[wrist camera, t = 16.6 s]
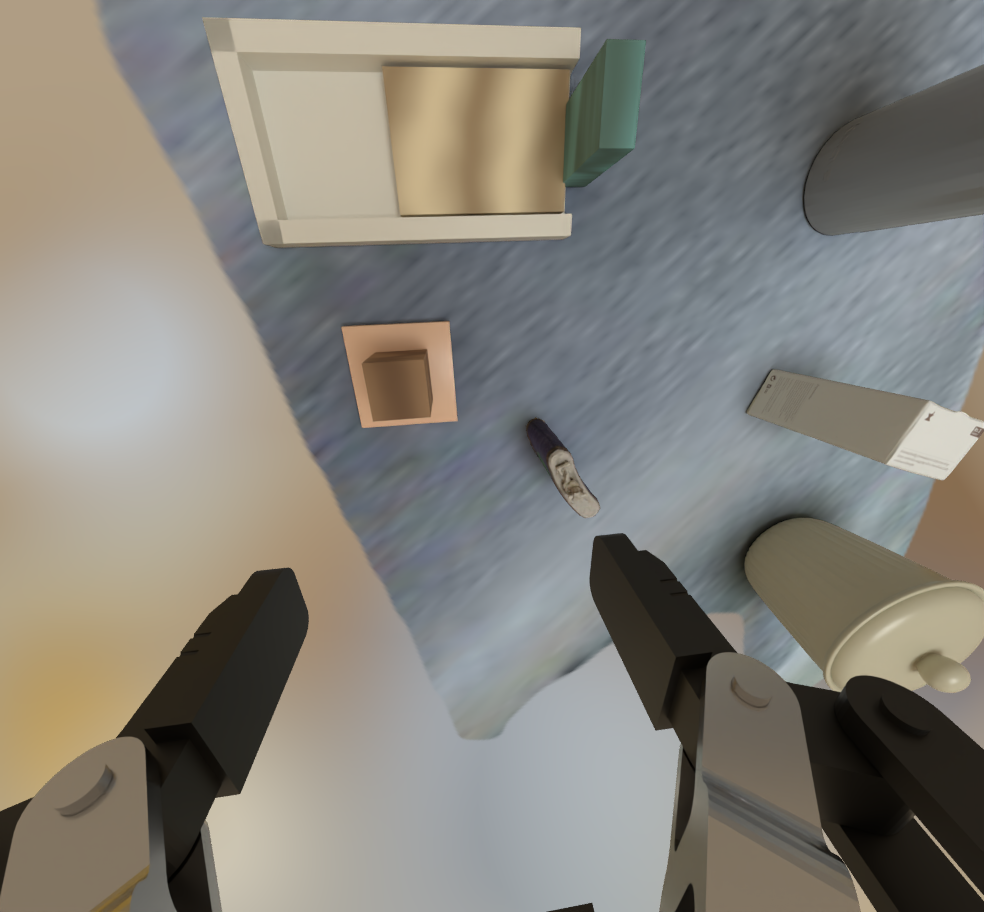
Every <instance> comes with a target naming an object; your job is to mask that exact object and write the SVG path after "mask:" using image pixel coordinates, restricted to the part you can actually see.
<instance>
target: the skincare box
mask: <svg viewBox="0 0 984 912" xmlns="http://www.w3.org/2000/svg"><path fill="white" fill-rule="evenodd" d="M747 414H748V415H751V416H754V417H757V418H759V419H762V420H765V421H768V422H771V423H774V424H777V425H779V426H782V427H785V428H787V429H790V430H793V431H796V432H798V433H801V434H804V435H807V436H810V437H813V438H815V439H818V440H821V441H824V442H826V443H829V444H832V445H835V446H837V447H840V448H843V449H845V450H848V451H851V452H854V453H856V454H859V455H862V456H865V457H868V458H870V459H873V460H876V461H878V462H881V463H884V464H886V465H889V466H892V467H895V468H898V469H901V470H905V471H908V472H912V473H915V474H919V475H923V476H927V477H930V478H935V479H939V480H944V479H946V477H947V476H948V475H949V474H950V473H951V471H952V470H953V469H954V468H955V467H956V466H957V464H958V463H959V462H960V461H961V459H962V458H963V457H964V456H965V454H966V453H967V452H968V451H969V449H970V448H971V447H972V446H973V444H974V443H975V442H976V441H977V439H978V438H979V437H980V436H981V434H982V433H983V432H984V421H981V420H978V419H975V418H972V417H969V416H968V415H967V414H966V413H964V412H960V411H959V412H956V411H953V410H950V409H947V408H944V407H942V406H939V405H938V404H936V403H934V402H932V401H929V400H924V399H919V398H914V397H909V396H904V395H900V394H895V393H890V392H885V391H880V390H875V389H870V388H865V387H860V386H855V385H850V384H845V383H840V382H836V381H831V380H826V379H821V378H816V377H811V376H806V375H801V374H796V373H791V372H786V371H781V370H776V369H773V370H772V371H771V372H770V374H769V375H768V377H767V379H766V381H765V383H764V384H763V386H762V388H761V389H760V391H759V392H758V394H757V395H756V397H755V398H754V400H753V402H752V403H751V405H750V407H749V408H748V410H747Z"/></svg>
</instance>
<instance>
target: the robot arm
mask: <svg viewBox="0 0 984 912" xmlns="http://www.w3.org/2000/svg"><path fill="white" fill-rule="evenodd" d="M804 203H805V211H806V215H807V218H808V220H809V222H810V224H811V225H812V226H813V227H814V228H815V229H816V230H817V231H818V232H820V233H822V234H825V235H832V236H833V235H841V234H847V233H854V232H868V231H875V230H882V229H888V228H895V227H902V226H908V225H915V224H922V223H929V222H935V221H942V220H949V219H956V218H962V217H969V216H976V215H982V214H984V64H983V65H981V66H978V67H976V68H974V69H971V70H969V71H967V72H964V73H962V74H960V75H957V76H955V77H953V78H950V79H948V80H946V81H943V82H941V83H939V84H936V85H934V86H932V87H929V88H927V89H925V90H922V91H920V92H918V93H915V94H913V95H911V96H908V97H906V98H903V99H901V100H899V101H896V102H894V103H892V104H889V105H887V106H885V107H882V108H880V109H878V110H875V111H873V112H871V113H868V114H866V115H864V116H861V117H859V118H857V119H854V120H852V121H851V122H849V123H847V124H846V125H844V126H843V127H841V128H840V129H839V130H838V131H837V132H836V133H835V134H834V135H832V137H831V138H830V139H829V140H828V141H827V143H826V144H825V145H824V146H823V148H822V149H821V151H820V152H819V154H818V156H817V157H816V159H815V161H814V163H813V165H812V168H811V170H810V172H809V176H808V179H807V182H806V188H805V195H804ZM590 589H591V593H592V597H593V600H594V602H595V604H596V607H597V609H598V611H599V613H600V615H601V617H602V619H603V621H604V623H605V625H606V627H607V630H608V632H609V634H610V636H611V638H612V640H613V642H614V644H615V646H616V648H617V651H618V653H619V655H620V657H621V659H622V661H623V663H624V665H625V667H626V669H627V672H628V673H629V675H630V678H631V680H632V682H633V684H634V686H635V688H636V690H637V693H638V695H639V697H640V699H641V701H642V703H643V705H644V707H645V709H646V711H647V714H648V716H649V718H650V720H651V722H652V724H653V726H654V728H655V730H662V729H669V728H674V730H675V732H676V734H677V736H678V738H679V740H680V742H681V745H680V749H679V758H678V768H677V778H676V789H675V800H674V809H673V820H672V831H671V840H670V850H669V858H668V865H667V870H666V875H665V879H664V885H663V890H662V896H661V904H660V911H659V912H861V911H860V906H859V902H858V898H857V894H856V890H855V887H854V884H853V880H852V878H851V875H850V873H849V871H848V869H847V867H848V868H849V870H850V871H851V873H852V874H853V876H854V878H855V879H856V881H857V882H858V884H859V885H860V887H861V888H862V889H863V891H864V893H865V894H866V896H867V897H868V899H869V900H870V902H871V903H872V905H873V906H874V908H875V910H876V911H877V912H984V901H983V900H982V899H981V897H980V896H979V895H978V894H977V893H976V891H975V890H974V889H973V888H972V887H971V885H970V884H969V883H968V882H967V881H966V880H965V878H964V877H963V876H962V875H961V874H960V872H959V871H958V870H957V869H956V868H955V867H954V865H953V864H952V863H951V862H950V861H949V859H948V858H947V857H946V856H945V855H944V853H942V851H941V850H940V849H939V848H938V846H937V845H936V844H935V843H934V842H933V840H932V839H931V838H930V837H929V836H928V834H927V833H926V832H925V831H924V830H923V829H922V827H921V826H920V825H919V824H918V823H917V821H916V820H915V819H914V818H913V817H914V816H915V815H916V816H917V817H918V818H919V820H920V821H921V822H922V823H923V824H924V826H925V827H926V828H927V829H928V830H929V831H930V833H931V834H932V835H933V836H934V837H935V839H936V840H937V841H938V842H939V843H940V844H941V846H942V847H943V848H944V849H945V850H946V851H947V853H948V854H949V855H950V856H951V857H952V858H953V860H954V861H955V862H956V863H957V864H958V866H959V867H960V868H961V869H962V870H963V871H964V873H965V874H966V875H967V876H968V877H969V878H970V880H971V881H972V882H973V883H974V884H975V886H976V887H977V888H978V889H979V890H980V891H981V892H982V894H983V895H984V749H982V748H981V747H980V746H979V745H978V744H977V743H976V742H975V741H973V740H972V739H971V738H970V737H969V736H968V735H967V734H966V733H964V732H963V731H962V730H961V729H960V728H959V727H958V726H957V725H955V724H954V723H953V722H952V721H951V720H950V719H949V718H948V717H946V716H945V715H944V714H943V713H942V712H941V711H940V710H938V709H937V708H936V707H935V706H933V705H932V704H931V703H929V702H928V701H926V700H925V699H924V698H922V697H921V696H919V695H917V694H916V693H914V692H912V691H911V690H909V689H907V688H905V687H903V686H901V685H899V684H896V683H894V682H891V681H889V680H886V679H883V678H879V677H875V676H868V675H859V676H855V677H853V678H850V679H849V681H848V682H847V683H846V685H845V686H844V688H843V690H842V691H841V692H837V691H832V690H826V689H821V688H815V687H810V686H804V685H799V684H793V683H789V682H785V681H784V680H783V679H782V678H781V677H780V676H779V675H778V674H777V673H776V672H775V671H773V670H772V669H771V668H769V667H768V666H766V665H765V664H763V663H762V662H760V661H758V660H756V659H754V658H751V657H749V656H746V655H743V654H738V653H737V652H736V651H735V650H734V648H733V647H732V646H731V645H730V644H729V642H728V641H727V640H726V639H725V637H724V636H723V635H722V634H721V632H720V631H719V630H718V629H717V628H716V626H715V625H714V624H713V623H712V621H711V620H710V619H709V618H708V616H707V615H706V614H705V613H704V611H703V610H702V609H701V608H700V606H699V605H698V604H697V603H696V601H695V600H694V599H693V598H692V596H691V595H688V593H687V590H686V589H685V588H684V587H683V585H682V584H681V583H680V582H679V581H677V578H676V577H675V575H674V574H673V573H672V572H671V570H670V569H669V568H668V567H667V565H666V564H665V563H664V562H663V561H661V560H660V559H658V558H657V557H655V556H654V555H652V554H651V553H650V552H648V551H647V550H643V551H638V550H637V549H636V548H635V546H634V545H633V544H632V542H631V541H630V540H629V538H628V537H627V536H626V535H625V534H623V533H619V534H610V535H601V536H596V537H595V538H594V541H593V550H592V560H591V569H590ZM308 619H309V617H308V610H307V607H306V604H305V601H304V599H303V596H302V593H301V590H300V588H299V585H298V582H297V579H296V576H295V574H294V572H293V570H292V569H291V568H281V569H271V570H261V571H256V572H254V573H253V574H252V575H251V576H250V578H249V579H248V581H247V582H246V584H245V585H244V587H243V588H242V589H241V591H240V592H239V594H237V595H231V596H230V597H229V598H227V599H226V600H225V601H224V602H223V603H222V604H220V605H219V606H218V607H217V608H215V609H214V610H213V611H212V612H211V613H209V615H208V616H207V617H206V619H205V620H204V621H203V623H202V624H201V625H200V627H199V628H198V630H197V631H196V632H195V633H194V638H193V639H190V640H189V642H188V643H187V644H186V646H185V647H184V648H183V650H182V651H181V655H180V657H177V658H176V659H175V660H174V662H173V663H172V664H171V666H170V667H169V668H168V670H167V671H166V672H165V674H164V675H163V676H162V678H161V679H160V680H159V682H158V683H157V684H156V686H155V687H154V688H153V690H152V691H151V693H150V694H149V695H148V696H147V698H146V699H145V700H144V702H143V703H142V704H141V706H140V707H139V709H138V710H137V711H136V713H135V714H134V715H133V717H132V718H131V719H130V721H129V722H128V723H127V725H126V726H125V727H124V729H123V730H122V731H121V732H120V734H119V735H118V736H117V737H116V739H113V740H109V741H107V742H104V743H102V744H100V745H98V746H96V747H94V748H92V749H90V750H88V751H87V752H85V753H83V754H82V755H80V756H79V757H77V758H76V759H75V760H73V761H72V762H70V763H69V764H68V765H66V766H65V767H64V768H63V769H61V770H60V771H59V772H58V773H57V774H56V775H54V776H53V777H52V778H51V779H50V780H49V781H48V782H47V783H46V784H45V785H44V786H43V787H42V788H41V789H40V790H39V792H38V793H37V794H36V795H35V796H34V797H33V798H30V799H28V800H26V801H23V802H21V803H19V804H16V805H14V806H12V807H9V808H7V809H5V810H2V811H0V912H222V908H221V902H220V896H219V889H218V883H217V876H216V870H215V864H214V857H213V851H212V844H211V838H210V832H209V827H208V823H207V822H206V820H205V819H206V817H207V815H208V812H209V810H210V808H211V806H212V804H213V802H214V799H215V798H217V797H224V796H230V795H237V794H240V793H241V791H242V788H243V786H244V783H245V781H246V778H247V776H248V774H249V771H250V769H251V767H252V764H253V762H254V759H255V757H256V754H257V752H258V750H259V747H260V745H261V742H262V740H263V738H264V735H265V733H266V730H267V728H268V726H269V723H270V721H271V718H272V716H273V714H274V711H275V709H276V706H277V704H278V702H279V699H280V697H281V694H282V692H283V690H284V687H285V685H286V682H287V680H288V678H289V675H290V673H291V670H292V668H293V666H294V663H295V661H296V658H297V656H298V653H299V651H300V649H301V646H302V644H303V641H304V639H305V637H306V633H307V629H308V622H309V620H308ZM821 827H822V828H821ZM822 829H823V830H824V832H825V833H826V835H827V836H828V838H829V839H830V841H831V842H832V844H833V846H834V847H835V849H836V850H837V851H838V853H839V855H840V856H841V857H842V859H843V861H844V862H845V863H844V862H843V861H842V859H841V858H840V857H839V856H837V855H835V854H834V853H832V852H830V850H829V849H828V847H827V845H826V843H825V840H824V837H823V833H822ZM845 864H846V865H847V867H846V865H845ZM548 912H594V908H593V905H592V903H588V904H584V905H579V906H573V907H568V908H563V909H559V910H553V911H548Z"/></svg>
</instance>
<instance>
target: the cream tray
mask: <svg viewBox="0 0 984 912" xmlns="http://www.w3.org/2000/svg"><path fill="white" fill-rule="evenodd" d="M202 19H203V23H204V26H205V30H206V34H207V37H208V41H209V45H210V49H211V52H212V56H213V60H214V63H215V67H216V71H217V75H218V78H219V82H220V86H221V89H222V93H223V97H224V101H225V104H226V108H227V112H228V115H229V119H230V123H231V127H232V130H233V134H234V138H235V141H236V145H237V149H238V153H239V156H240V160H241V164H242V167H243V171H244V175H245V179H246V182H247V186H248V190H249V193H250V197H251V201H252V205H253V208H254V212H255V216H256V219H257V223H258V227H259V231H260V234H261V238H262V242H263V244H265V245H268V246H272V247H276V248H281V247H316V246H351V245H386V244H422V243H457V242H492V241H527V240H562V239H565V238H567V237H569V236H571V222H572V214H564V212H562V213H561V214H537V215H491V216H445V217H401V215H400V208H399V200H398V192H397V184H396V176H395V168H394V160H393V152H392V144H391V136H390V128H389V119H388V111H387V103H386V95H385V87H384V79H383V71H382V66H391V67H452V68H513V69H570V74H571V73H572V71H573V69H574V67H575V66H576V64H577V62H578V60H579V58H580V37H581V28H569V27H532V26H496V25H460V24H423V23H387V22H350V21H314V20H277V19H241V18H204V17H202ZM569 88H570V78H569ZM564 210H565V201H564Z"/></svg>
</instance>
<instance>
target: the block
mask: <svg viewBox="0 0 984 912" xmlns="http://www.w3.org/2000/svg"><path fill="white" fill-rule="evenodd" d="M362 368H363V373H364V378H365V384H366V389H367V394H368V399H369V404H370V409H371V414H372V419H373V422H375V421H388V420H401V419H414V418H427V417H431V411H432V403H433V394H432V386H431V377H430V368H429V360H428V351H427V349H423V350H407V351H390V352H375V353H374V354H373V355H371V356H370V357H369V358H368V359H366V360H365V361H364V362H363V363H362Z"/></svg>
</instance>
